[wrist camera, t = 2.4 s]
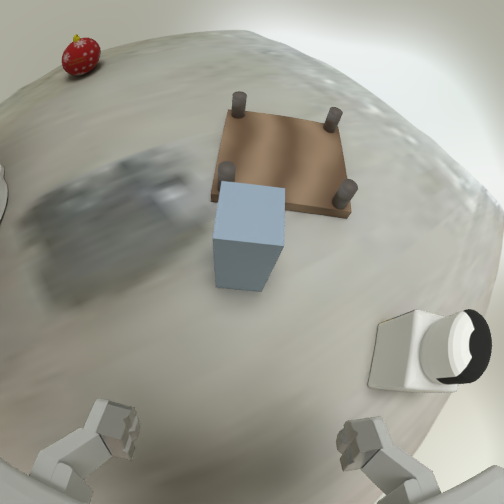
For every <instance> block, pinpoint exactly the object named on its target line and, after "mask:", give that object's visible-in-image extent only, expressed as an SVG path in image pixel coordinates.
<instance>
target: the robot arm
mask: <svg viewBox="0 0 504 504" xmlns="http://www.w3.org/2000/svg"><path fill="white" fill-rule="evenodd" d="M7 194H8V190H7V185H6V182H5V180H4V167H3V166H2V165H1V164H0V220H1V218H2V215H3V212H4V209H5V206H6V202H7ZM135 415H136V410H135V407H131V406H127V405H123V404H119V403H115V402H111V401H108V400H105V399H101V398H98V399H97V400H96V401H95V403H94V405H93V407H92V410H91V412H90V414H89V416H88V418H87V421H86V423H85V425H84V428H78V429H77V430H75V431H73V432H72V433H70V434H68V435H67V436H65V437H63V438H62V439H60V440H58V441H57V442H55V443H53V444H51V445H50V446H48V447H46V448H45V449H43V450H41V451H40V452H39V454H38V456H37V458H36V461H35V463H34V465H33V467H32V470H31V472H30V474H29V476H28V475H27V474H25V473H23V472H22V471H20V470H18V469H17V468H15V467H14V466H12V465H11V464H9V463H7V462H6V461H4V460H3V459H2V458H0V504H90V501H91V497H92V493H93V490H92V488H91V487H90V486H89V485H88V484H87V483H86V482H85V481H84V479H85V478H87V477H88V476H89V475H90V474H91V473H93V472H94V471H95V470H96V469H98V468H99V467H100V466H101V465H102V464H104V463H105V462H106V461H107V460H108V459H110V458H111V457H112V456H115V457H119V458H123V459H127V460H132V457H133V453H134V449H135V446H134V444H133V442H134V441H135V440H137V439H138V435H139V429H140V423H139V419H138V418H137V417H136V416H135ZM336 446H337V450H338V451H339V452H340V453H341V454H342V456H341V457H340V462H341V466H342V470H343V471H350V470H357V469H361V470H362V471H363V472H364V473H365V474H366V476H367V477H368V478H369V479H370V480H371V481H372V482H373V483H374V484H375V485H377V486H378V487H379V488H380V489H381V490H382V491H383V492H384V493H385V494H386V496H385V497H383V498H382V499H381V500H379V501H378V502H377V504H504V468H502V467H500V466H497V465H494V466H491V467H489V468H487V469H486V470H484V471H482V472H481V473H479V474H477V475H476V476H474V477H472V478H470V479H468V480H467V481H465V482H463V483H461V484H459V485H457V486H455V487H453V488H451V489H449V490H447V491H445V492H443V493H441V491H440V489H439V486H438V484H437V481H436V479H435V476H434V474H433V471H431V470H430V469H429V468H427V467H426V466H424V465H423V464H422V463H420V462H419V461H417V460H416V459H415V458H413V457H412V456H411V455H409V454H408V453H406V452H405V451H404V450H402V449H401V448H400V447H398V446H394V445H393V442H392V440H391V437H390V435H389V432H388V430H387V427H386V425H385V422H384V420H383V418H382V417H379V416H378V417H372V418H363V419H356V420H348V421H346V422H345V424H344V429H342V430H341V431H339V433H338V435H337V439H336ZM111 455H112V456H111Z"/></svg>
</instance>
